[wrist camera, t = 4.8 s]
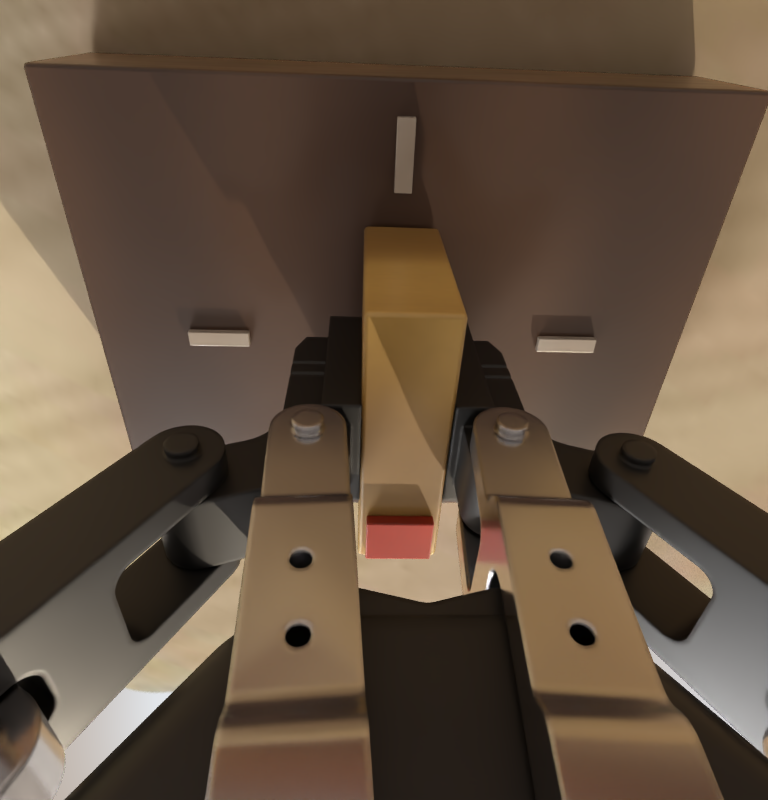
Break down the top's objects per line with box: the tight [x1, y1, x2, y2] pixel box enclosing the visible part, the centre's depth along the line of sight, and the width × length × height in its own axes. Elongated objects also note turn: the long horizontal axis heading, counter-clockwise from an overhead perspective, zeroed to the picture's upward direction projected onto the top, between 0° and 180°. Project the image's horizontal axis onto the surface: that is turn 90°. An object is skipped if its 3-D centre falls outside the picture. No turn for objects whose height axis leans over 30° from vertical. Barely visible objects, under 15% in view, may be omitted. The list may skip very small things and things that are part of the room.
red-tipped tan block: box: [358, 226, 468, 559], centre depth 12 cm, size 6×2×4 cm, turn 177°
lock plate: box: [24, 53, 768, 503], centre depth 15 cm, size 14×11×3 cm
